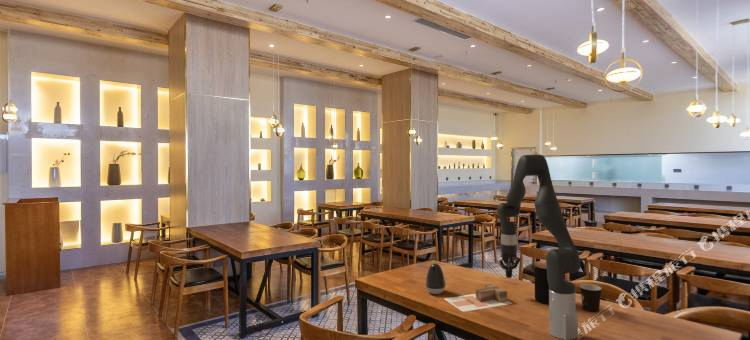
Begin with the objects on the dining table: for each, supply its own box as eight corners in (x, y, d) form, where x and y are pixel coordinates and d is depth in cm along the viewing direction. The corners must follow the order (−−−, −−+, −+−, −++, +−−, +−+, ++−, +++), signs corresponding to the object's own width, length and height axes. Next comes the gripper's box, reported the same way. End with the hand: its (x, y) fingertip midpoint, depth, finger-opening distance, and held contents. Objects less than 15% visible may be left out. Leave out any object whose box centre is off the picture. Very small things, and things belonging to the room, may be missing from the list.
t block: (507, 301, 186) (506, 291, 186) (485, 305, 182) (485, 294, 182) (491, 293, 197) (491, 283, 197) (471, 296, 193) (471, 286, 193)
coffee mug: (601, 314, 169) (601, 291, 169) (579, 310, 174) (579, 288, 173) (602, 305, 179) (602, 284, 179) (581, 302, 184) (580, 281, 183)
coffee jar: (561, 306, 180) (561, 267, 179) (537, 305, 182) (536, 266, 181) (555, 298, 190) (555, 261, 190) (532, 297, 192) (532, 260, 192)
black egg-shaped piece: (422, 294, 199) (422, 265, 199) (429, 288, 208) (429, 260, 208) (441, 297, 194) (441, 267, 194) (448, 291, 204) (447, 262, 203)
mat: (513, 304, 183) (512, 303, 183) (462, 312, 175) (462, 311, 174) (490, 292, 200) (489, 291, 200) (443, 299, 192) (443, 298, 192)
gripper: (502, 245, 187) (502, 281, 188) (524, 243, 191) (525, 278, 192) (492, 242, 194) (493, 276, 195) (514, 240, 198) (515, 273, 199)
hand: (508, 277), depth 193 cm, fingers closed
